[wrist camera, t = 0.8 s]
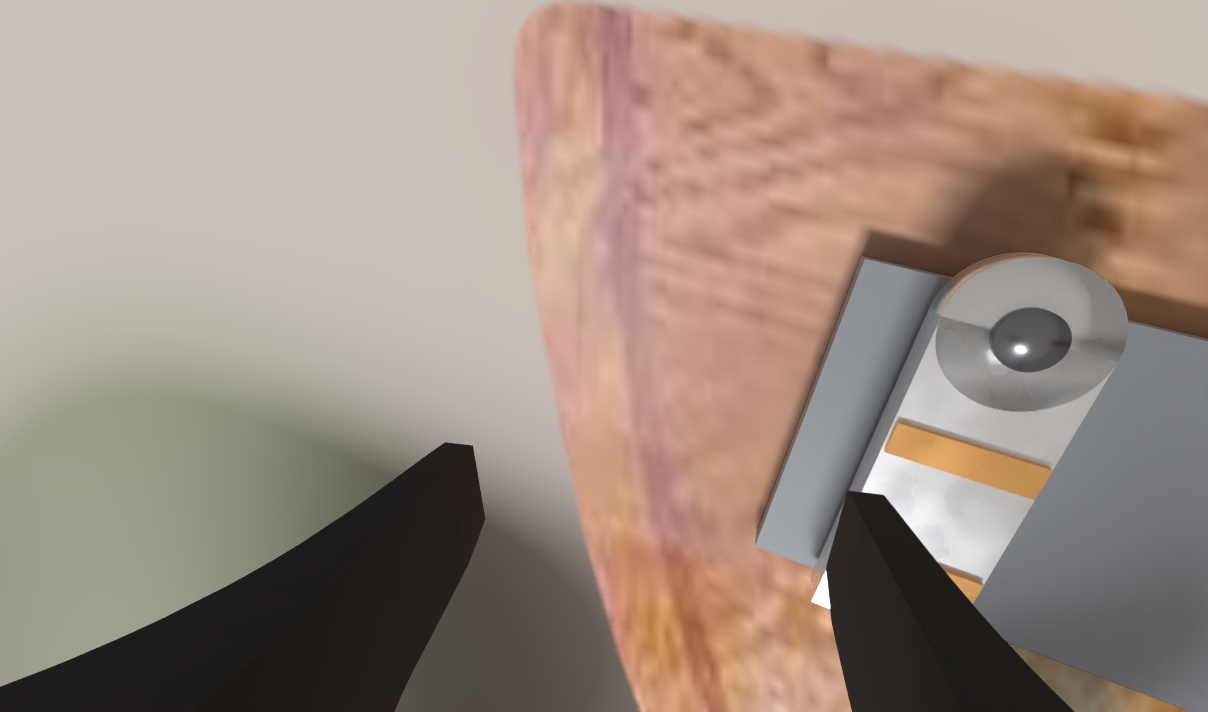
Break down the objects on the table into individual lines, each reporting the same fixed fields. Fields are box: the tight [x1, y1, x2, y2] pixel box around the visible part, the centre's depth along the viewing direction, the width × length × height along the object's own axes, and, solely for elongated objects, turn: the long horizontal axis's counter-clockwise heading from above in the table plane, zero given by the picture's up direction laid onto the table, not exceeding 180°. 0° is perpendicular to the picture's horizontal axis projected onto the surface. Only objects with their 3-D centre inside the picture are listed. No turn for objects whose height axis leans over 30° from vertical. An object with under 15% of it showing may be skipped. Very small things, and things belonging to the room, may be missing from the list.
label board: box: [755, 256, 1208, 712], centre depth 20 cm, size 20×14×1 cm
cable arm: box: [811, 252, 1128, 609], centre depth 19 cm, size 15×5×2 cm, turn 168°
